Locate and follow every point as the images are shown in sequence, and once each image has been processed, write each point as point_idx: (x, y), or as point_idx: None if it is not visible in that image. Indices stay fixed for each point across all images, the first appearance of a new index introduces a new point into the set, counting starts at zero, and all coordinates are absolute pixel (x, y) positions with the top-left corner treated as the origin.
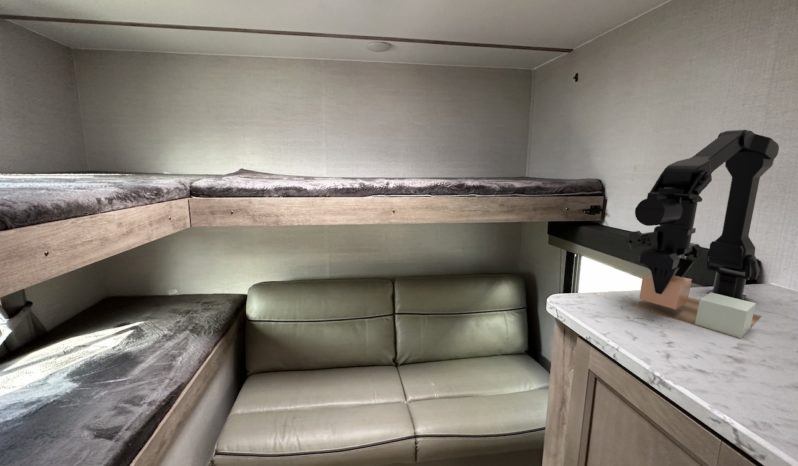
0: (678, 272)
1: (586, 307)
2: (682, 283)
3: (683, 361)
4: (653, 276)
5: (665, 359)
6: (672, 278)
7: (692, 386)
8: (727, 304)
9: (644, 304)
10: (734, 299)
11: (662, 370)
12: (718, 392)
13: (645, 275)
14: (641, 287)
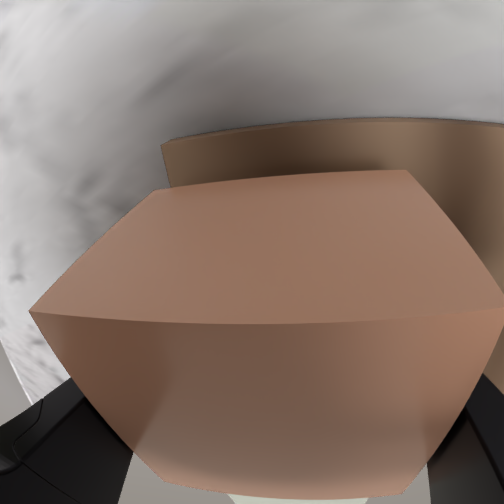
0: (444, 489)
1: (20, 41)
2: (217, 491)
3: (53, 362)
4: (27, 418)
5: (28, 341)
6: (289, 469)
7: (24, 373)
8: (253, 498)
9: (261, 168)
10: (347, 501)
11: (8, 343)
12: (46, 393)
13: (77, 321)
14: (104, 239)
